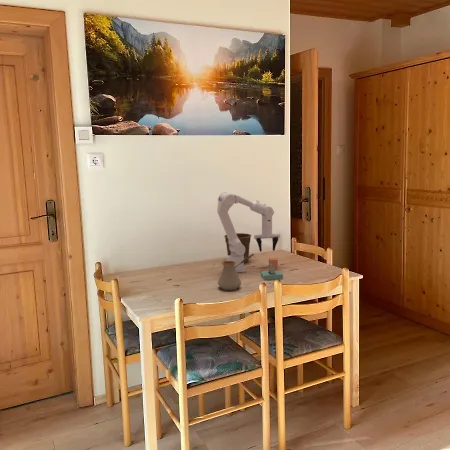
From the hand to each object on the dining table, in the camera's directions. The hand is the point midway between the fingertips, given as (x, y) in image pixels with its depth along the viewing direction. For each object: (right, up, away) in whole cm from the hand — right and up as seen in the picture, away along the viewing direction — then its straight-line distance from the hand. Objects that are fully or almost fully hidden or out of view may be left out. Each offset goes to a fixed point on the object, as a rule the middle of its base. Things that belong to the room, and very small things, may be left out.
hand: (267, 250), depth 263 cm
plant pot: (-16, -8, +15) cm, 23 cm away
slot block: (0, -13, -20) cm, 24 cm away
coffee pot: (-18, -16, -34) cm, 41 cm away
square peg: (+3, -11, -8) cm, 14 cm away
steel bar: (+1, -13, -20) cm, 24 cm away
